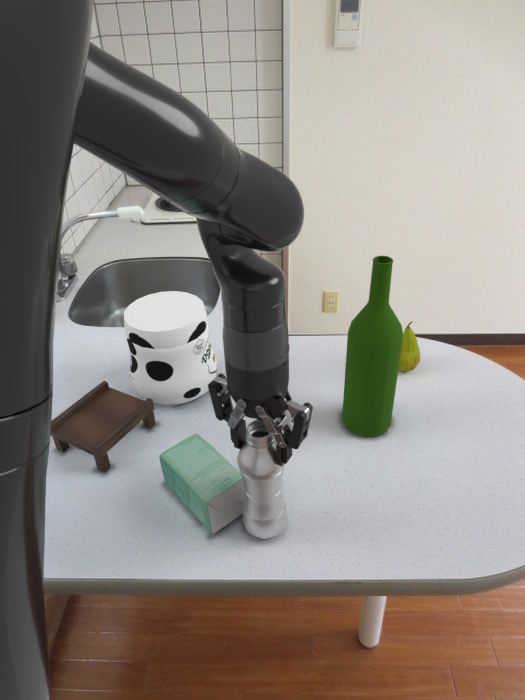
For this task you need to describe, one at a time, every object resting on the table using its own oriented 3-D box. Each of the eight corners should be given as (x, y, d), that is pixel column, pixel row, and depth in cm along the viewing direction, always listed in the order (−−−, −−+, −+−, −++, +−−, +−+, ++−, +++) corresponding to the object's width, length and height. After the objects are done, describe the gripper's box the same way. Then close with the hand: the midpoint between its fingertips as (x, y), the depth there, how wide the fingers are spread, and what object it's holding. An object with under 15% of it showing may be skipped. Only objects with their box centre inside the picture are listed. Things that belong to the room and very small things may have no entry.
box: (200, 461, 90) (195, 429, 86) (250, 509, 82) (247, 476, 77) (163, 483, 87) (156, 451, 82) (212, 536, 78) (207, 503, 74)
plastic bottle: (295, 531, 78) (296, 433, 67) (256, 552, 75) (249, 453, 64) (273, 502, 83) (270, 405, 71) (235, 520, 80) (225, 423, 69)
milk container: (236, 383, 108) (229, 307, 98) (169, 426, 98) (154, 346, 88) (182, 351, 118) (172, 280, 108) (117, 388, 108) (98, 312, 98)
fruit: (402, 355, 114) (409, 307, 107) (425, 369, 109) (433, 320, 103) (381, 366, 111) (387, 318, 104) (404, 381, 107) (411, 331, 100)
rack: (104, 474, 89) (96, 448, 85) (55, 450, 94) (45, 424, 90) (157, 424, 98) (152, 399, 95) (110, 405, 104) (103, 380, 100)
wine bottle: (399, 417, 98) (424, 256, 79) (375, 445, 92) (395, 278, 74) (357, 399, 102) (371, 242, 84) (332, 424, 97) (341, 262, 78)
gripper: (186, 349, 61) (201, 452, 71) (297, 385, 55) (296, 492, 64) (222, 319, 66) (231, 419, 76) (326, 349, 60) (322, 453, 70)
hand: (261, 452), depth 70 cm, fingers closed on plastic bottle, 6 cm apart
